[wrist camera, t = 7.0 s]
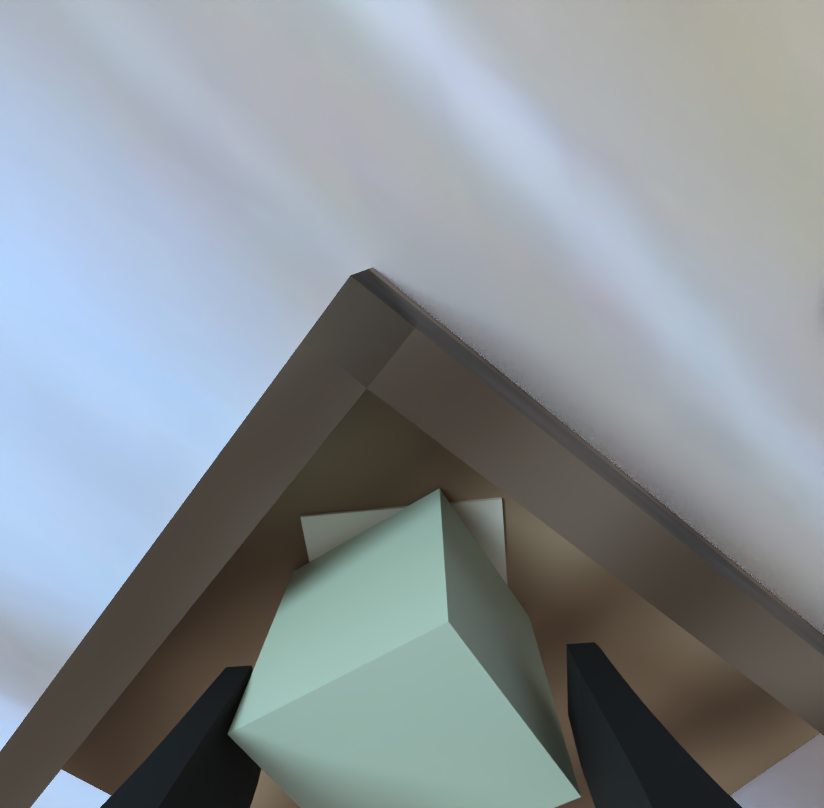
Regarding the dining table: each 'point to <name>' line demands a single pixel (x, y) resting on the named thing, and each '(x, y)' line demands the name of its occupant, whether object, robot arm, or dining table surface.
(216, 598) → the arena
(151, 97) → the dining table surface
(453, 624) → the sage cube
